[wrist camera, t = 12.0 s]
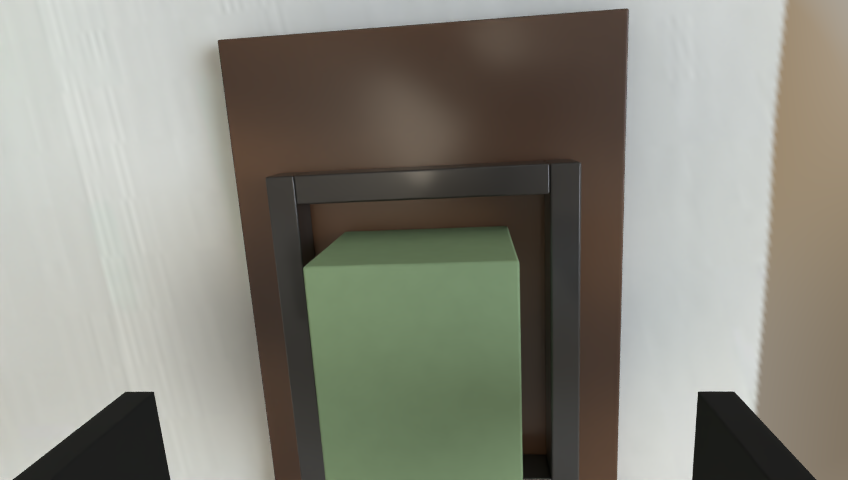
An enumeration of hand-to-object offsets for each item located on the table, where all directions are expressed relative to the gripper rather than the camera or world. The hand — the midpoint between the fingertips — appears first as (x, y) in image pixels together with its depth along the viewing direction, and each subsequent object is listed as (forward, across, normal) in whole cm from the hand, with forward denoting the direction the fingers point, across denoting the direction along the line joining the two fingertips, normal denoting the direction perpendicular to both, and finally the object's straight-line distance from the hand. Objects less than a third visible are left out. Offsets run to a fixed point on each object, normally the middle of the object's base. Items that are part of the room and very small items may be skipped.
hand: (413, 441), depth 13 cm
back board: (+8, 0, 0) cm, 8 cm away
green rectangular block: (+7, 0, 0) cm, 7 cm away
